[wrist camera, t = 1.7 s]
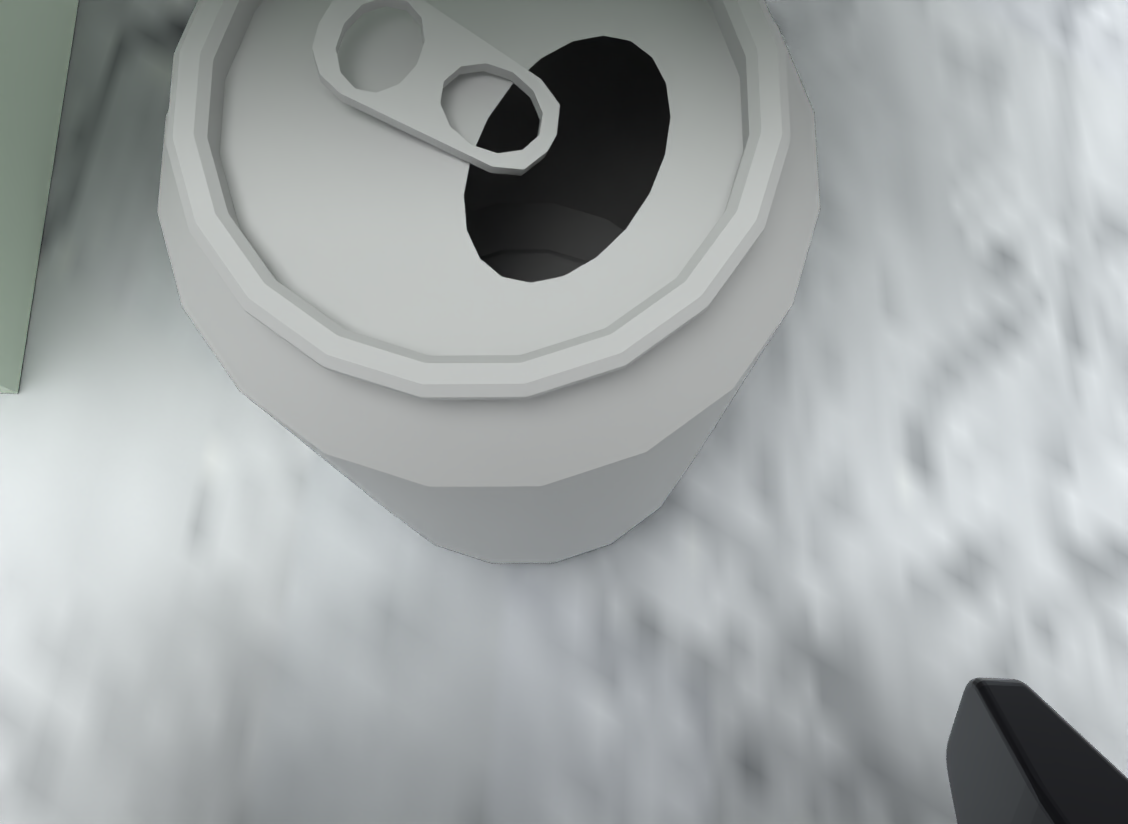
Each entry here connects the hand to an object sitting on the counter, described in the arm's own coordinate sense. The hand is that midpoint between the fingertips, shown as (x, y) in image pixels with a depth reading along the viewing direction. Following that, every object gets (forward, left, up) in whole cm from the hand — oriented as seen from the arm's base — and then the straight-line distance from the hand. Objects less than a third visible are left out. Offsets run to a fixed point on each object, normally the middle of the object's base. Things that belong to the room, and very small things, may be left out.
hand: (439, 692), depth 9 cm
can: (+6, 0, -12) cm, 13 cm away
